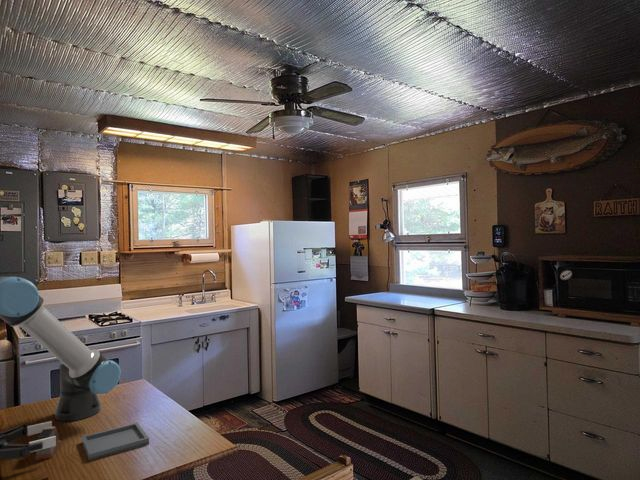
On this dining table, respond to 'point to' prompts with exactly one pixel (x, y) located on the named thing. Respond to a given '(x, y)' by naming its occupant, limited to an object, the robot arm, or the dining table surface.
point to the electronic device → (50, 451)
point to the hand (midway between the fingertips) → (53, 432)
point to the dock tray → (114, 441)
